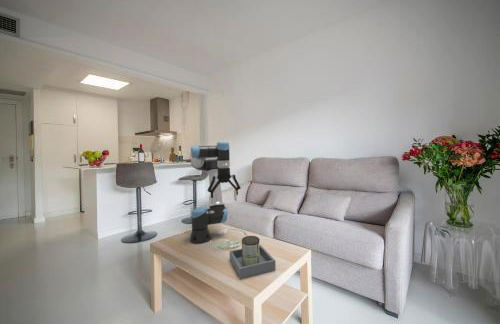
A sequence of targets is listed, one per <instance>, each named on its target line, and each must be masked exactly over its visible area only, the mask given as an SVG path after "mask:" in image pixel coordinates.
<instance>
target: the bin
mask: <svg viewBox="0 0 500 324" xmlns="http://www.w3.org/2000/svg"><path fill="white" fill-rule="evenodd" d="M259 246H260V263H257V264H253V265H249V266H244V265H243V259H242V248H238V249H233V250H229V261H230V262H231V264H232V267H233V269H235V272H236V274H237V276H238V277H239V279H240V280H242V279H246V278H249V277H255V276H258V275H262V274H266V273H270V272H274V271H276V259H274V257H273V256H272V255H271V254H270V252H268V251H267V250H266V248H264V247H263V245H261V244H259Z"/></svg>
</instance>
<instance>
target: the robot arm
mask: <svg viewBox="0 0 500 324" xmlns="http://www.w3.org/2000/svg"><path fill="white" fill-rule="evenodd" d="M190 156H191V159H190V166H191V167H192V168H194V169H195V170H197V171H206V174H208V180H209V181H208V182H209V183H208V184H209V186H208V189H207V192H208V193H210V205H209V208H208V207H207V206H200V207H197V208H194V209H192V211H191V214H190V215H191V216H190V217H191V218H190V219H191V232H190V236H189V242H190V243H192V244H199V245H200V244H204V243H207V242H209V241H210V240H211V239H210V235H211V232H210V230H209V225H218V224H223V223H226V222H227V220H228V214H229V213H228V207H227V206H226V205H225V203H223V196H222V194H223V193H222V187H221V184H225V183H228V184H230V185H231V186H232V187H233V188H234V190H233V200H234V202H236V201H237V202H238V200H237V199H238V198H237V197H238V195H239V190H240V189H241V188H242V187H241V185H240V184H239V182H238V180H237V178H236V175H235V174H231V168H230V167H231V161H230V143H229V141H219V142H216V145H192V146H191V147H190ZM231 178H232V180H233V182H234V183H235V184H234V183H233V182H232V181H231Z"/></svg>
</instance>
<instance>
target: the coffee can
mask: <svg viewBox="0 0 500 324" xmlns="http://www.w3.org/2000/svg"><path fill="white" fill-rule="evenodd" d="M260 240H261V239H260V238H259V237H258V236H255V235H246V236H244V237H242V238H241V249H242V259H243V265H244V266H249V265H253V264H257V263H260V246H259V245H260Z"/></svg>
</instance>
